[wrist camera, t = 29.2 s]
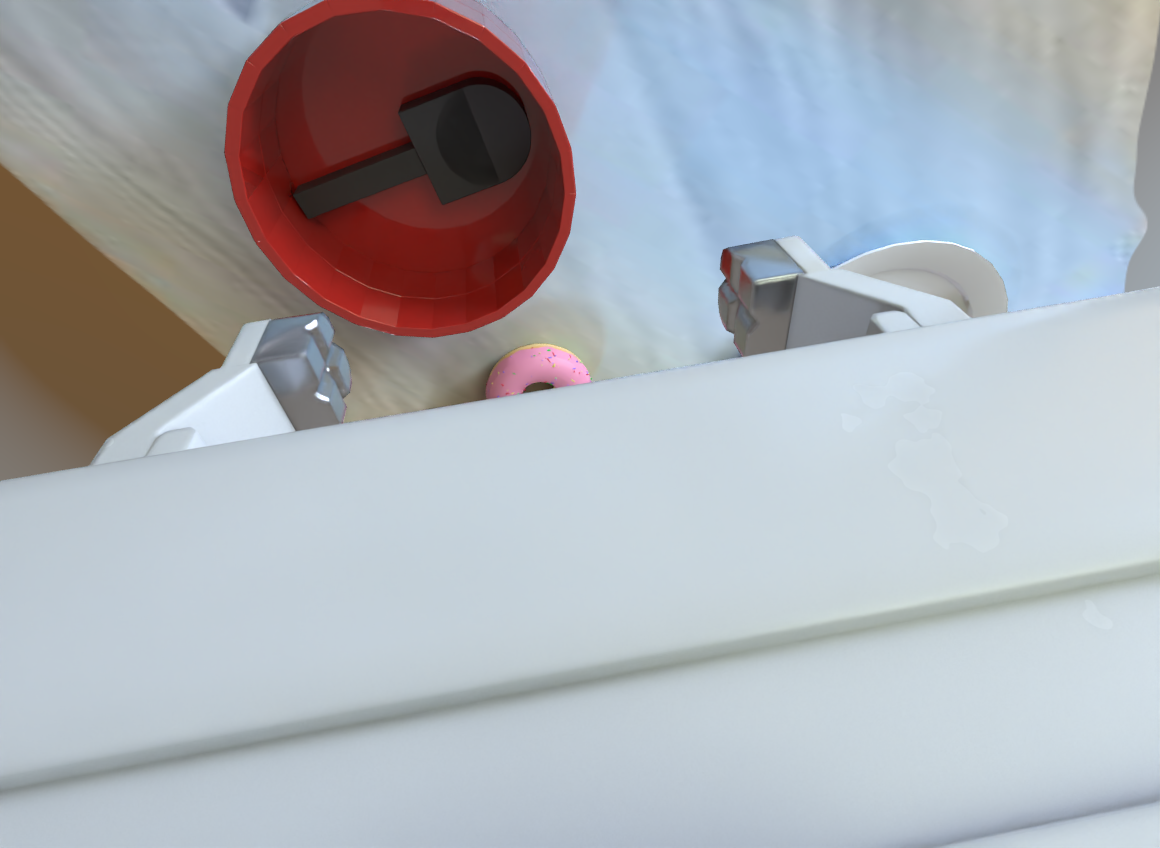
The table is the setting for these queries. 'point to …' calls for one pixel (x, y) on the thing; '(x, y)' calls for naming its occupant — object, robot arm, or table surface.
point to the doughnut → (535, 370)
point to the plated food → (937, 273)
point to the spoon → (437, 148)
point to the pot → (372, 126)
